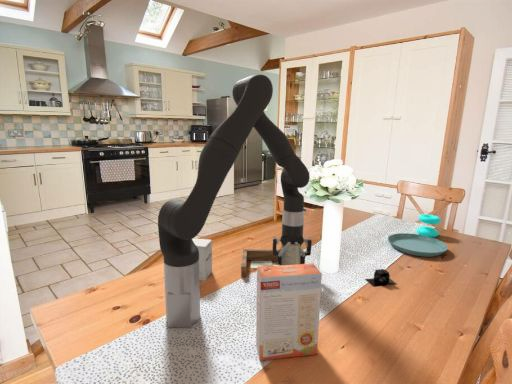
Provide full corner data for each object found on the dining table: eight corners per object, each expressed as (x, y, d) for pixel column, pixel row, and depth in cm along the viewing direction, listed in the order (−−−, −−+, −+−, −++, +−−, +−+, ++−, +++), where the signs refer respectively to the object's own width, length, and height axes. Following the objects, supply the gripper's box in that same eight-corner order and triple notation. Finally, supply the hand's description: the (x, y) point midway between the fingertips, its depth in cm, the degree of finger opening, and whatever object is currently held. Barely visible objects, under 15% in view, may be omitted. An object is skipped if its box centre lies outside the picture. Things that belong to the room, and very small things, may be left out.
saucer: (398, 235, 155) (398, 229, 155) (452, 249, 139) (453, 242, 138) (378, 248, 138) (379, 241, 138) (438, 264, 122) (439, 257, 121)
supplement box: (205, 281, 104) (205, 246, 102) (185, 278, 106) (184, 244, 103) (212, 271, 111) (212, 239, 109) (194, 269, 113) (193, 237, 110)
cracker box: (309, 338, 77) (314, 262, 72) (317, 355, 71) (323, 273, 67) (254, 343, 74) (256, 264, 70) (258, 361, 69) (260, 277, 64)
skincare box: (300, 274, 111) (302, 242, 108) (295, 278, 107) (296, 246, 105) (285, 269, 114) (287, 239, 112) (279, 273, 111) (281, 242, 108)
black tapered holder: (370, 289, 102) (372, 277, 101) (359, 279, 109) (360, 267, 108) (402, 286, 105) (404, 274, 104) (389, 276, 112) (391, 265, 111)
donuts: (414, 213, 159) (430, 213, 161) (412, 232, 161) (427, 230, 163) (429, 219, 149) (445, 218, 152) (426, 238, 151) (443, 237, 154)
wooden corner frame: (294, 278, 108) (295, 267, 107) (241, 277, 108) (241, 266, 107) (289, 259, 124) (290, 250, 123) (242, 258, 123) (243, 249, 123)
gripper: (273, 225, 103) (271, 269, 106) (315, 225, 103) (312, 270, 106) (272, 218, 110) (270, 260, 114) (311, 219, 110) (308, 261, 114)
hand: (290, 265), depth 110 cm, fingers closed on skincare box, 7 cm apart
